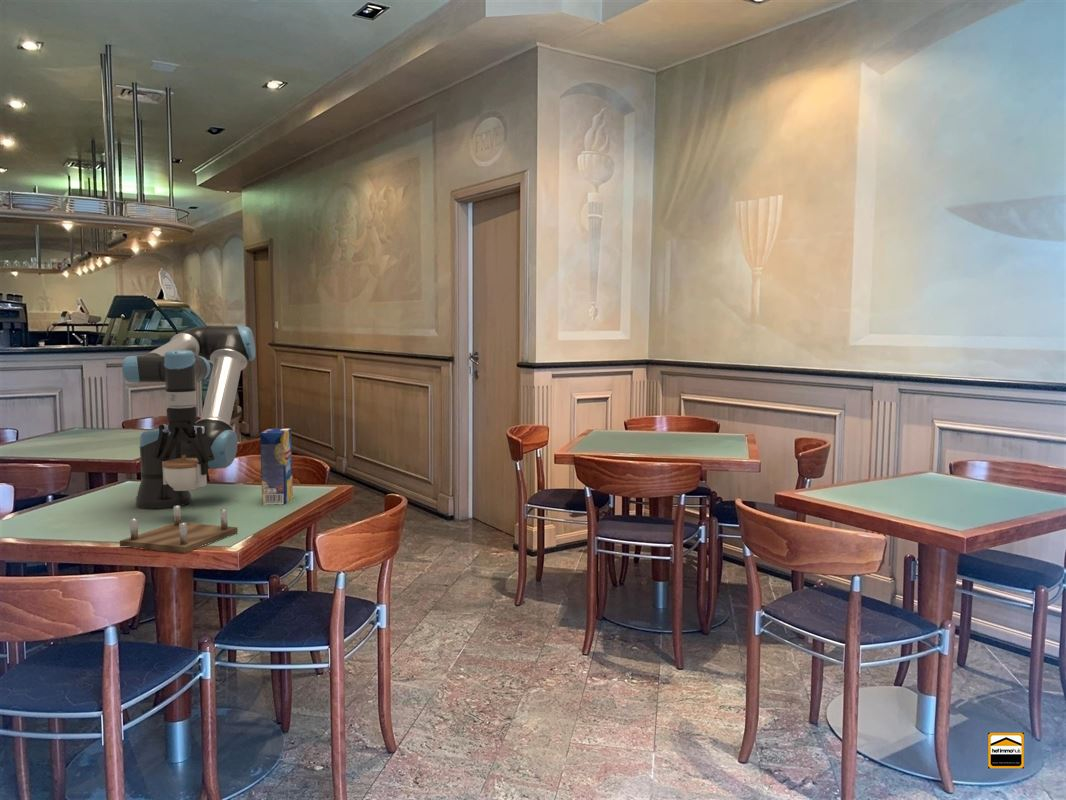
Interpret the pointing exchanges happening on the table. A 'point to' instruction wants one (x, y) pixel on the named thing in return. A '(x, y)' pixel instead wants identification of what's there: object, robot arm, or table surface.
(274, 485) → the beverage box
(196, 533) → the peg board
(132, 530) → the corner pegs
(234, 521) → the table surface
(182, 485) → the lidded jar
